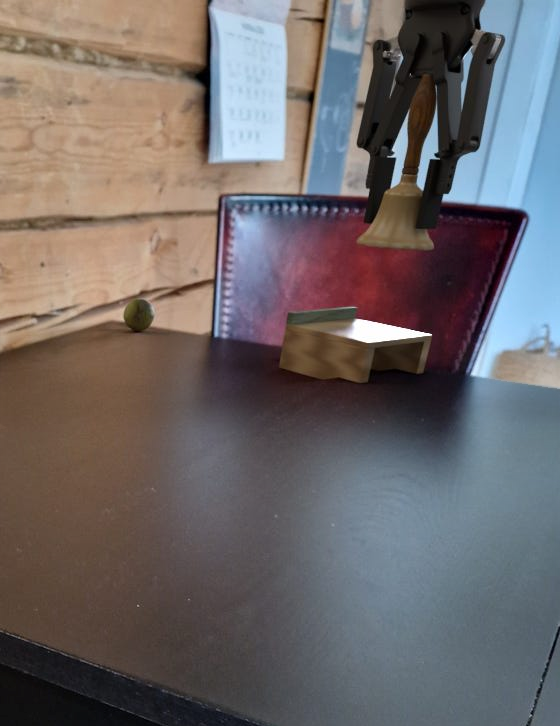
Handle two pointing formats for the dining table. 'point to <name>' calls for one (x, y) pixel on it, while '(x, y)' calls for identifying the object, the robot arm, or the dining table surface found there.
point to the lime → (138, 315)
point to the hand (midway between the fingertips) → (398, 225)
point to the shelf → (348, 345)
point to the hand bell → (406, 183)
